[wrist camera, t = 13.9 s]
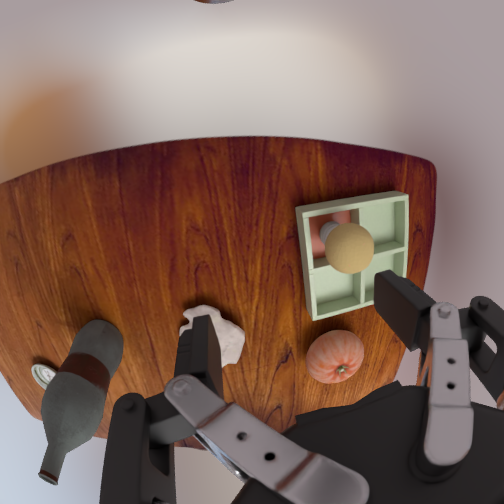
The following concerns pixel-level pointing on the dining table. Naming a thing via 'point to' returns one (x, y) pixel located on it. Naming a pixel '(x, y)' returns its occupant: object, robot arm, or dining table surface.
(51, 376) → the saucer
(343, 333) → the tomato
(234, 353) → the decorative stone
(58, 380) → the bottle
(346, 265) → the light bulb
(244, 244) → the dining table surface
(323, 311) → the grid
